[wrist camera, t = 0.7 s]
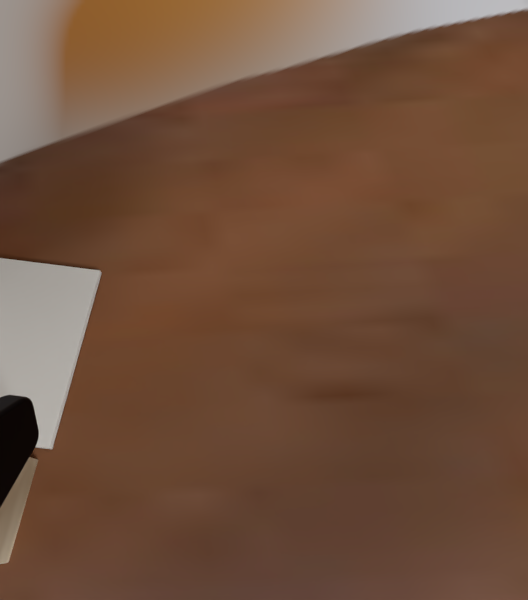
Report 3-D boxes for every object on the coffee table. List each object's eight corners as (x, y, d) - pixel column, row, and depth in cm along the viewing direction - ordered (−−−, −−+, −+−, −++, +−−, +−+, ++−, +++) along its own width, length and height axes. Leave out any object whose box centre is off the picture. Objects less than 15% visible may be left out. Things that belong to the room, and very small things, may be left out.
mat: (52, 449, 21) (49, 448, 21) (-108, 431, 21) (-112, 430, 21) (101, 273, 25) (100, 270, 25) (-33, 256, 25) (-36, 253, 25)
